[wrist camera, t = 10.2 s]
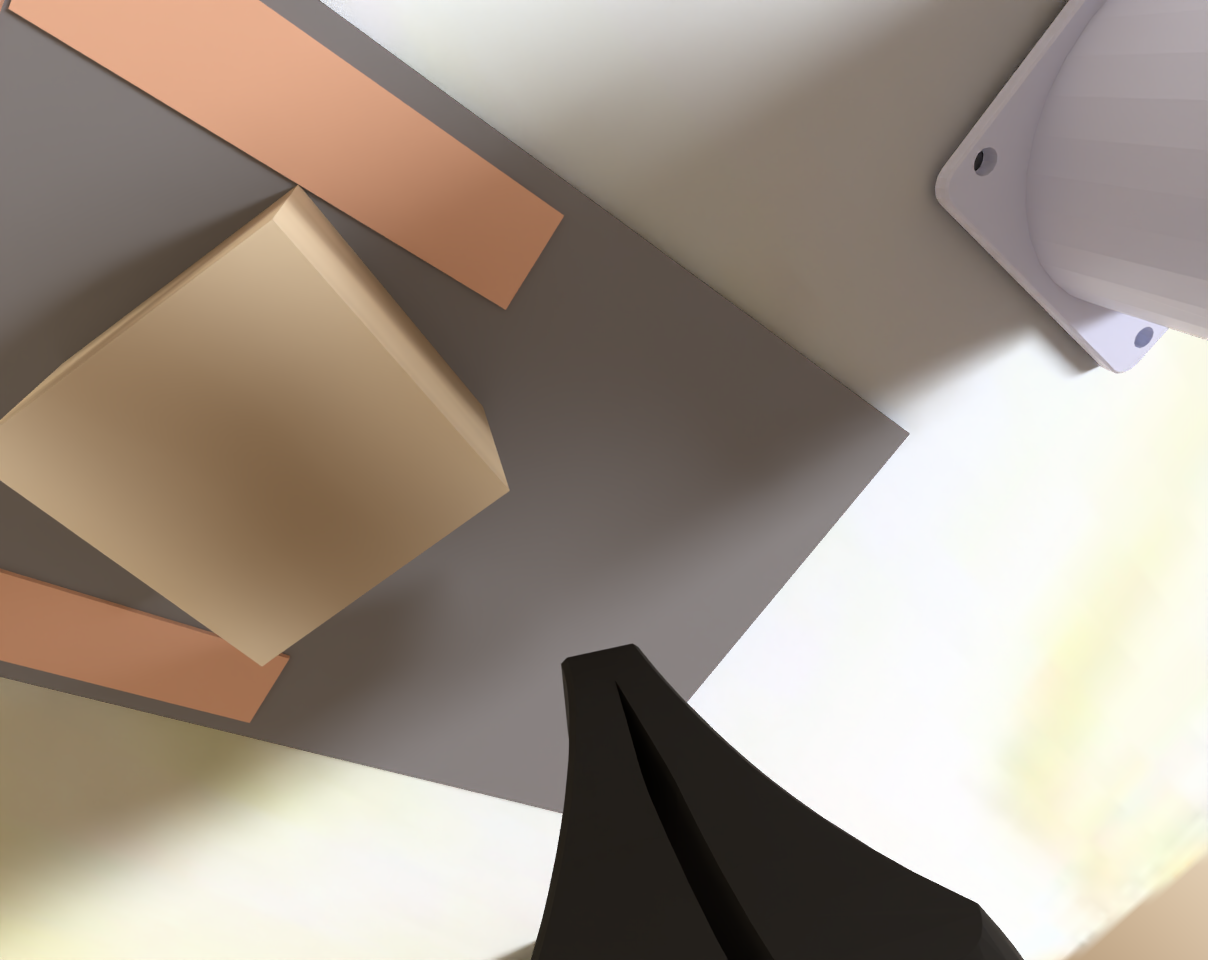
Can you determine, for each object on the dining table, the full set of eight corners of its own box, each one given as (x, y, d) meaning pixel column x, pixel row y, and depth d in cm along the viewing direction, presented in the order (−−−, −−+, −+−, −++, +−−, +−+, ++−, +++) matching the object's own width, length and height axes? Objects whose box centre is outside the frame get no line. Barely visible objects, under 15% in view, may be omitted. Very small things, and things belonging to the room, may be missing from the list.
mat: (-5, -237, 9) (-15, -245, 9) (904, 430, 18) (912, 435, 18) (-283, 598, 13) (-296, 609, 13) (587, 814, 22) (590, 822, 21)
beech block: (298, 183, 12) (272, 219, 9) (483, 407, 15) (510, 490, 12) (62, 362, 12) (-38, 454, 9) (285, 549, 15) (262, 666, 12)
